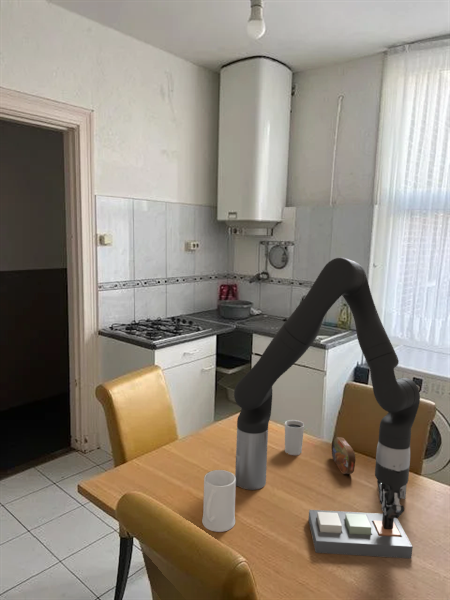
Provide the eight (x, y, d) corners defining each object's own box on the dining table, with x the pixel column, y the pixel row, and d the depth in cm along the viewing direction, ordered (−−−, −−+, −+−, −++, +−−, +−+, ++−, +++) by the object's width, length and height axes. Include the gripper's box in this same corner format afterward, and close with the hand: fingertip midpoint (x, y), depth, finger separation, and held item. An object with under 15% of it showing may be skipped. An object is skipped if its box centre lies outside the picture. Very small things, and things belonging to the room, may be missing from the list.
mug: (219, 544, 104) (220, 497, 102) (189, 532, 107) (189, 487, 106) (240, 517, 114) (242, 474, 112) (212, 507, 118) (213, 466, 116)
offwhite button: (320, 536, 105) (320, 524, 104) (316, 523, 110) (317, 511, 109) (341, 537, 105) (341, 525, 104) (336, 524, 110) (337, 512, 109)
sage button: (349, 538, 104) (350, 526, 104) (344, 525, 109) (345, 513, 109) (370, 539, 104) (371, 527, 104) (364, 526, 109) (365, 514, 109)
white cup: (304, 456, 148) (305, 428, 146) (284, 455, 148) (286, 427, 147) (301, 447, 154) (302, 420, 153) (282, 446, 154) (283, 419, 153)
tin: (330, 455, 149) (331, 432, 148) (339, 455, 149) (340, 432, 148) (346, 479, 134) (347, 453, 133) (355, 479, 134) (357, 453, 133)
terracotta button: (378, 545, 104) (379, 533, 104) (372, 532, 109) (373, 520, 109) (399, 547, 104) (400, 534, 104) (392, 533, 109) (393, 521, 109)
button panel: (315, 552, 102) (316, 540, 101) (308, 520, 114) (309, 509, 113) (411, 558, 101) (412, 546, 100) (394, 525, 112) (395, 514, 112)
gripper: (369, 447, 111) (364, 510, 113) (385, 474, 98) (379, 545, 100) (398, 448, 110) (393, 511, 113) (419, 476, 97) (413, 547, 100)
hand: (387, 527), depth 106 cm, fingers closed
